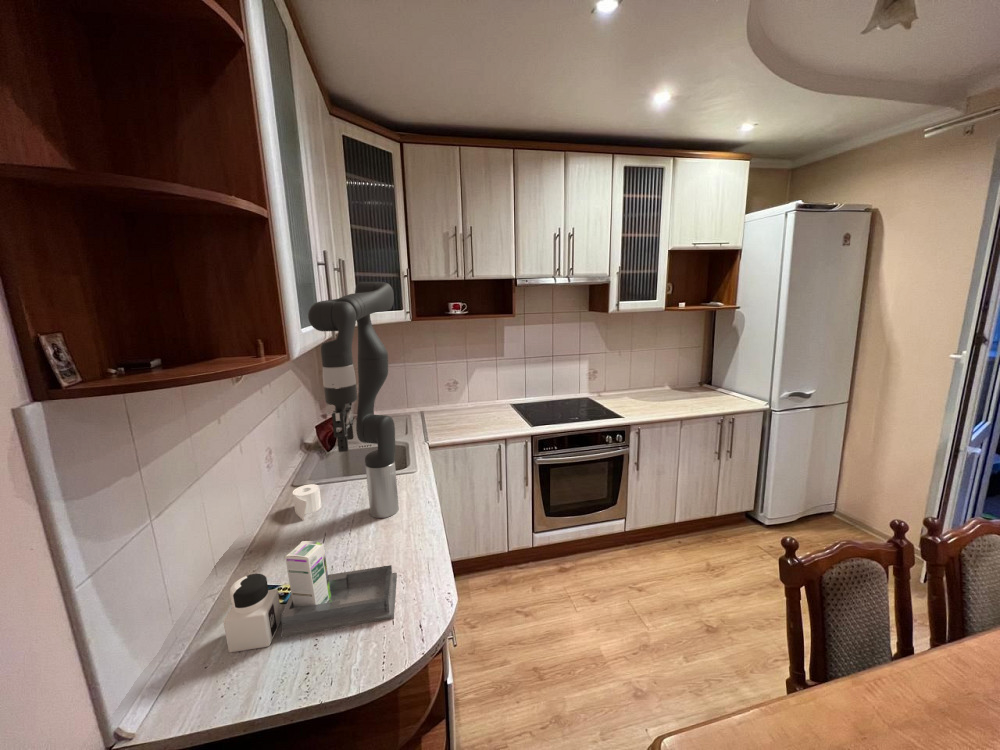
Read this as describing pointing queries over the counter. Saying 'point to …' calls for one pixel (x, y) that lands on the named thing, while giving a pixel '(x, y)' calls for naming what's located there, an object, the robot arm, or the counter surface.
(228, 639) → the container
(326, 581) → the syrup box
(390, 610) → the low gray tray
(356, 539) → the counter surface
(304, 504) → the toilet paper
